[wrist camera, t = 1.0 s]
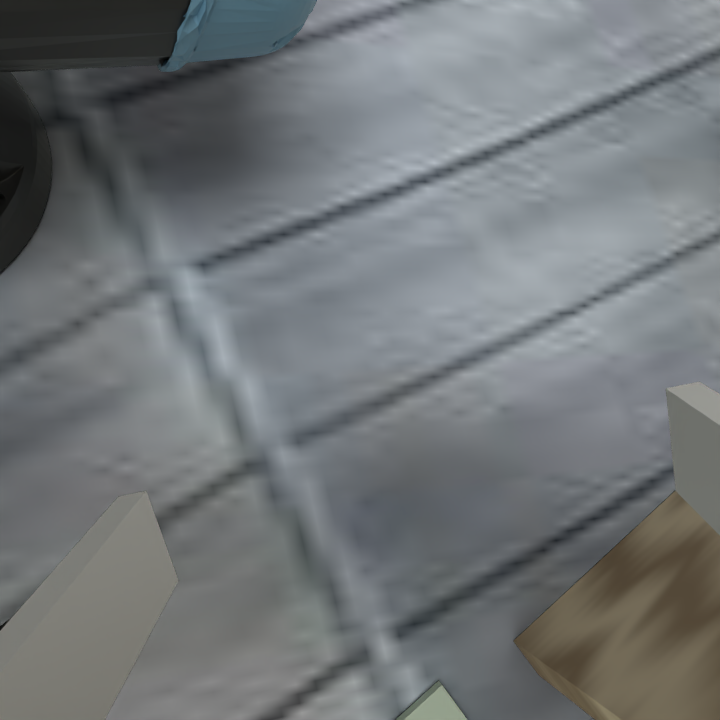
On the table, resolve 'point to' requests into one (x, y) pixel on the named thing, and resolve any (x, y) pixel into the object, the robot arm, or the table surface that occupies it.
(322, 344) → the table surface
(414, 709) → the sage mat
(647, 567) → the oak bridge
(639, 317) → the table surface
